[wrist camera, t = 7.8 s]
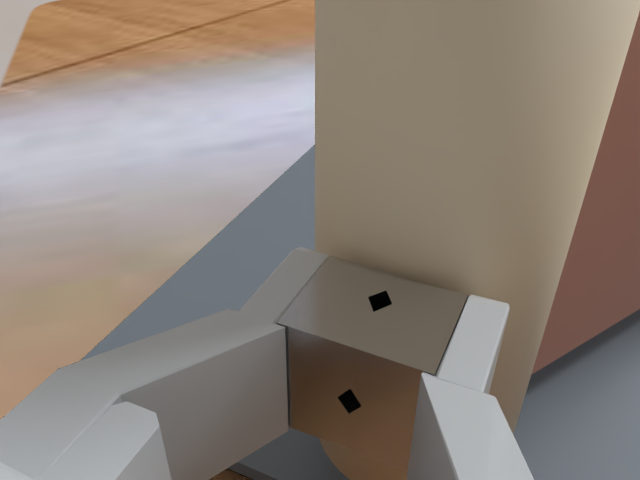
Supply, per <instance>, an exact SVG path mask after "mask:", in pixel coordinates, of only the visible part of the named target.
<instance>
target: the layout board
mask: <svg viewBox="0 0 640 480" xmlns="http://www.w3.org/2000/svg"><path fill="white" fill-rule="evenodd" d="M299 247H304V248H307V249H310V250H314V251H315V145H314V146H313V147H312V148H311V149H310V150H309V151H308V152H306V153H305V154H304V155H303V156H302V157H301V158H300V159H299V160H298V161H297V162H296V163H295V164H293V165H292V166H291V167H290V168H289V169H288V170H287V171H286V172H285V173H284V174H283V175H281V176H280V177H279V178H278V179H277V180H276V181H275V182H274V183H273V184H272V185H271V186H270V187H268V188H267V189H266V190H265V191H264V192H263V193H262V194H261V195H260V196H259V197H258V198H256V199H255V200H254V201H253V202H252V203H251V204H250V205H249V206H248V207H247V208H246V209H245V210H243V211H242V212H241V213H240V214H239V215H238V216H237V217H236V218H235V219H234V220H233V221H231V222H230V223H229V224H228V225H227V226H226V227H225V228H224V229H223V230H222V231H221V232H220V233H218V234H217V235H216V236H215V237H214V238H213V239H212V240H211V241H210V242H209V243H208V244H206V245H205V246H204V247H203V248H202V249H201V250H200V251H199V252H198V253H197V254H196V255H195V256H193V257H192V258H191V259H190V260H189V261H188V262H187V263H186V264H185V265H184V266H183V267H181V268H180V269H179V270H178V271H177V272H176V273H175V274H174V275H173V276H172V277H171V278H170V279H168V280H167V281H166V282H165V283H164V284H163V285H162V286H161V287H160V288H159V289H158V290H156V291H155V292H154V293H153V294H152V295H151V296H150V297H149V298H148V299H147V300H146V301H145V302H143V303H142V304H141V305H140V306H139V307H138V308H137V309H136V310H135V311H134V312H133V313H131V314H130V315H129V316H128V317H127V318H126V319H125V320H124V321H123V322H122V323H121V324H120V325H118V326H117V327H116V328H115V329H114V330H113V331H112V332H111V333H110V334H109V335H108V336H106V337H105V338H104V339H103V340H102V341H101V342H100V343H99V344H98V345H97V346H96V347H95V348H93V349H92V350H91V351H90V352H89V353H88V354H87V355H86V356H85V357H84V358H83V359H81V360H84V359H87V358H90V357H93V356H95V355H98V354H101V353H104V352H107V351H110V350H113V349H115V348H118V347H121V346H124V345H127V344H130V343H132V342H135V341H138V340H141V339H144V338H147V337H150V336H152V335H155V334H158V333H161V332H164V331H167V330H170V329H172V328H175V327H178V326H181V325H184V324H187V323H189V322H192V321H195V320H198V319H201V318H204V317H207V316H209V315H212V314H215V313H218V312H221V311H224V310H227V309H232V310H235V311H239V310H240V309H241V308H242V307H243V306H244V305H245V303H246V302H247V301H248V300H249V299H250V298H251V297H252V296H253V294H254V293H255V292H256V291H257V290H258V289H259V288H260V286H261V285H262V284H263V283H264V282H265V281H266V280H267V279H268V277H269V276H270V275H271V274H272V273H273V272H274V271H275V269H276V268H277V267H278V266H279V265H280V264H281V263H282V262H283V260H284V259H285V258H286V257H287V256H288V255H289V254H290V252H291V251H292V250H294V249H296V248H299ZM81 360H80V361H81ZM513 435H514V438H515V440H516V442H517V444H518V446H519V448H520V450H521V453H522V455H523V457H524V459H525V461H526V463H527V465H528V468H529V470H530V472H531V474H532V476H533V478H534V480H640V309H639V310H637V311H636V312H634V313H632V314H631V315H629V316H627V317H626V318H624V319H622V320H621V321H619V322H617V323H616V324H614V325H613V326H611V327H609V328H608V329H606V330H604V331H603V332H601V333H599V334H598V335H596V336H594V337H593V338H591V339H589V340H588V341H586V342H584V343H583V344H581V345H579V346H578V347H576V348H575V349H573V350H571V351H570V352H568V353H566V354H565V355H563V356H561V357H560V358H558V359H556V360H555V361H553V362H551V363H550V364H548V365H546V366H545V367H543V368H542V369H540V370H538V371H537V372H535V373H533V374H532V375H531V377H530V381H529V384H528V387H527V391H526V394H525V398H524V401H523V404H522V408H521V411H520V414H519V418H518V421H517V424H516V428H515V431H514V434H513ZM228 469H230V470H232V471H235V472H237V473H239V474H241V475H244V476H246V477H248V478H250V479H253V480H349V479H348V478H347V477H346V476H345V475H344V474H343V473H341V472H340V471H339V470H338V468H337V467H336V466H335V465H334V464H333V463H332V462H331V460H330V459H329V457H328V456H327V454H326V453H325V451H324V449H323V447H322V445H321V443H320V441H319V438H318V437H315V436H312V435H310V434H307V433H304V432H301V431H299V430H296V429H293V428H290V427H289V430H288V431H287V432H286V433H284V434H282V435H281V436H279V437H277V438H276V439H274V440H273V441H271V442H269V443H268V444H266V445H264V446H263V447H261V448H259V449H258V450H256V451H255V452H253V453H251V454H250V455H248V456H246V457H245V458H243V459H242V460H240V461H238V462H237V463H235V464H233V465H232V466H230V467H228Z"/></svg>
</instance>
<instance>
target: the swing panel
mask: <svg viewBox="0 0 640 480" xmlns="http://www.w3.org/2000/svg"><path fill="white" fill-rule="evenodd" d="M315 251H317V252H321V253H324V254H328V255H330V256H336V257H339V258H342V259H346V260H349V261H352V262H356V263H359V264H362V265H366V266H369V267H372V268H376V269H379V270H382V271H386V272H389V273H392V274H396V275H398V276H401V277H405V278H408V279H412V280H416V281H419V282H423V283H427V284H430V285H434V286H438V287H441V288H445V289H449V290H452V291H456V292H460V293H463V294H467V295H471V294H472V295H476V296H480V297H484V298H488V299H492V300H496V301H500V302H504V303H508V304H509V307H510V309H509V314H508V319H507V323H506V327H505V331H504V335H503V339H502V343H501V347H500V351H499V355H498V359H497V363H496V367H495V371H494V375H493V379H492V383H491V387H490V391H489V395H492V396H495V397H496V399H497V401H498V403H499V405H500V407H501V410H502V412H503V414H504V416H505V418H506V420H507V422H508V425H509V427H510V429H511V431H512V433H513V434H514V431H515V428H516V424H517V421H518V418H519V414H520V411H521V408H522V404H523V401H524V398H525V394H526V391H527V387H528V384H529V381H530V377H531V375H532V374H533V373H535V372H537V371H538V370H540V369H542V368H543V367H545V366H546V365H548V364H550V363H551V362H553V361H555V360H556V359H558V358H560V357H561V356H563V355H565V354H566V353H568V352H570V351H571V350H573V349H575V348H576V347H578V346H579V345H581V344H583V343H584V342H586V341H588V340H589V339H591V338H593V337H594V336H596V335H598V334H599V333H601V332H603V331H604V330H606V329H608V328H609V327H611V326H613V325H614V324H616V323H617V322H619V321H621V320H622V319H624V318H626V317H627V316H629V315H631V314H632V313H634V312H636V311H637V310H639V309H640V0H315ZM319 441H320V443H321V445H322V447H323V449H324V451H325V453H326V454H327V456H328V457H329V459H330V460H331V462H332V463H333V464H334V465H335V466H336V467H337V468H338V470H339V471H340V472H341V473H343V474H344V475H345V476H346V477H347V478H348V479H349V480H407V473H405V472H402V471H400V470H398V469H395V468H393V467H390V466H388V465H386V464H383V463H381V462H379V461H376V460H374V459H372V458H369V457H367V456H365V455H362V454H360V453H357V452H355V451H353V450H350V449H348V448H346V447H343V446H340V445H337V444H334V443H332V442H329V441H326V440H323V439H321V438H319Z"/></svg>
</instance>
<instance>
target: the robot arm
mask: <svg viewBox="0 0 640 480" xmlns="http://www.w3.org/2000/svg"><path fill="white" fill-rule="evenodd" d="M509 309H510V307H509V304H508V303H504V302H500V301H496V300H492V299H488V298H484V297H480V296H476V295H472V294H471V295H467V294H463V293H460V292H456V291H452V290H449V289H445V288H441V287H438V286H434V285H430V284H427V283H423V282H419V281H416V280H412V279H408V278H405V277H401V276H398V275H396V274H392V273H389V272H386V271H382V270H379V269H376V268H372V267H369V266H366V265H362V264H359V263H356V262H352V261H349V260H346V259H342V258H339V257H336V256H330V255H328V254H324V253H321V252H317V251H314V250H310V249H307V248H304V247H299V248H296V249H294V250H292V251H291V252H290V254H289V255H288V256H287V257H286V258H285V259H284V260H283V262H282V263H281V264H280V265H279V266H278V267H277V268H276V269H275V271H274V272H273V273H272V274H271V275H270V276H269V277H268V279H267V280H266V281H265V282H264V283H263V284H262V285H261V286H260V288H259V289H258V290H257V291H256V292H255V293H254V294H253V296H252V297H251V298H250V299H249V300H248V301H247V302H246V303H245V305H244V306H243V307H242V308H241V309H240V310H239V311H235V310H232V309H227V310H224V311H221V312H218V313H215V314H212V315H209V316H207V317H204V318H201V319H198V320H195V321H192V322H189V323H187V324H184V325H181V326H178V327H175V328H172V329H170V330H167V331H164V332H161V333H158V334H155V335H152V336H150V337H147V338H144V339H141V340H138V341H135V342H132V343H130V344H127V345H124V346H121V347H118V348H115V349H113V350H110V351H107V352H104V353H101V354H98V355H95V356H93V357H90V358H87V359H84V360H81V361H78V362H75V363H73V364H70V365H67V366H64V367H61V368H58V369H57V370H56V371H55V372H54V373H53V374H52V375H51V376H49V377H48V378H47V379H46V380H45V381H44V382H43V383H42V384H40V385H39V386H38V387H37V388H36V389H35V390H34V391H33V392H31V393H30V394H29V395H28V396H27V397H26V398H25V399H24V400H22V401H21V402H20V403H19V404H18V405H17V406H16V407H15V408H13V409H12V410H11V411H10V412H9V413H8V414H7V415H6V416H4V417H3V418H2V419H1V420H0V480H209V479H210V478H212V477H214V476H215V475H217V474H219V473H220V472H222V471H224V470H225V469H227V468H228V467H230V466H232V465H233V464H235V463H237V462H238V461H240V460H242V459H243V458H245V457H246V456H248V455H250V454H251V453H253V452H255V451H256V450H258V449H259V448H261V447H263V446H264V445H266V444H268V443H269V442H271V441H273V440H274V439H276V438H277V437H279V436H281V435H282V434H284V433H286V432H287V431H288V430H289V427H290V428H293V429H296V430H299V431H301V432H304V433H307V434H310V435H312V436H315V437H318V438H321V439H323V440H326V441H329V442H332V443H334V444H337V445H340V446H343V447H346V448H348V449H350V450H353V451H355V452H357V453H360V454H362V455H365V456H367V457H369V458H372V459H374V460H376V461H379V462H381V463H383V464H386V465H388V466H390V467H393V468H395V469H398V470H400V471H402V472H405V473H407V480H534V478H533V476H532V474H531V472H530V470H529V468H528V465H527V463H526V461H525V459H524V457H523V455H522V453H521V450H520V448H519V446H518V444H517V442H516V440H515V438H514V435H513V433H512V431H511V429H510V427H509V425H508V422H507V420H506V418H505V416H504V414H503V412H502V410H501V407H500V405H499V403H498V401H497V399H496V397H495V396H492V395H489V391H490V387H491V383H492V379H493V375H494V371H495V367H496V363H497V359H498V355H499V351H500V347H501V343H502V339H503V335H504V331H505V327H506V323H507V319H508V314H509Z"/></svg>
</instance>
